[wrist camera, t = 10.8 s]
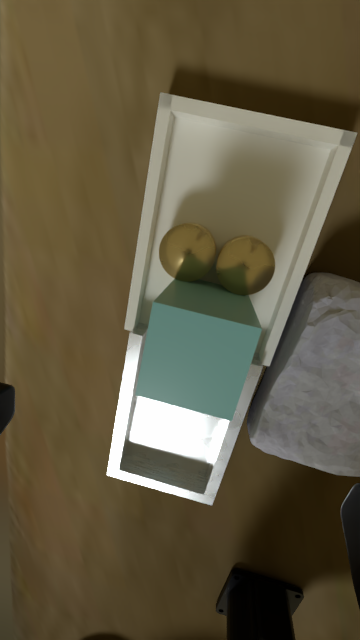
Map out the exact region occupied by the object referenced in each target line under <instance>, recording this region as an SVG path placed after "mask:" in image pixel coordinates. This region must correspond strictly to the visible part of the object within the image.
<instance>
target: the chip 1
mask: <svg viewBox="0 0 360 640" xmlns="http://www.w3.org/2000/svg"><path fill="white" fill-rule="evenodd" d="M215 255H216V242H215V239H214V237H213V235H212V234H211V232H210V231H209V230H208V229H207V228H206V227H204V226H202V225H200V224H197V223H184V224H180V225H177V226H175V227H173V228H171V229H170V230H169V231H168V232H167V233H166V234H165V235H164V237H163V238H162V240H161V243H160V246H159V258H160V262H161V265H162V267H163V268H164V270H165V271H166V272H167V273H168V274H169V275H170V276H171V277H173V278H175V279H177V280H179V281H185V282H190V281H195V280H198V279H200V278H202V277H203V276H205V275H206V274H207V273H208V272H209V270H210V269H211V267H212V266H213V263H214V260H215Z"/></svg>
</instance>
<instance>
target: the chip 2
mask: <svg viewBox="0 0 360 640" xmlns="http://www.w3.org/2000/svg"><path fill="white" fill-rule="evenodd" d="M216 271H217V276H218V279H219V281H220V283H221V284H222V285H223V287H224V288H225V289H227V290H228V291H230V292H232V293H234V294H237V295H252V294H255V293H257V292H259V291H261V290H262V289H264V288H265V287H266V286H267V285H268V284H269V282H270V281H271V279H272V277H273V275H274V271H275V259H274V256H273V253H272V251H271V250H270V248H269V247H268V246H267V245H266V244H265V243H263V242H262V241H261V240H260V239H258V238H256V237H254V236H250V235H241V236H236V237H234V238H232V239H230V240H229V241H227V242H226V243H225V244H224V245H223V247H222V248H221V250H220V252H219V255H218V259H217V265H216Z"/></svg>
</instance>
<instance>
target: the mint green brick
mask: <svg viewBox="0 0 360 640" xmlns="http://www.w3.org/2000/svg"><path fill="white" fill-rule="evenodd" d="M261 331H262V327H261V324H260V322H259V320H258V317H257V315H256V312H255V310H254V307H253V305H252V302H251V300H250V298H249V295H237V294H234V293H232V292H230V291H228V290H227V289H225V288H224V287H223V285H221V284H216V283H212V282H208V281H204V280H200V279H198V280H195V281H190V282H185V281H179V280H177V279H174V280H173V281H172V282H171V283H170V284H169V285H168V286H167V287H166V288H165V289H164V291H163V292H162V293H161V294H160V295H159V296H158V297H157V298H156V299H155V300H154V301H153V304H152V309H151V314H150V320H149V325H148V330H147V335H146V340H145V346H144V351H143V356H142V361H141V367H140V372H139V377H138V382H137V387H136V393H135V395H136V396H140V397H144V398H147V399H151V400H155V401H158V402H162V403H166V404H170V405H173V406H177V407H181V408H184V409H188V410H192V411H196V412H199V413H203V414H207V415H210V416H214V417H218V418H222V419H225V420H229V421H232V419H233V416H234V413H235V410H236V407H237V404H238V401H239V398H240V395H241V392H242V389H243V386H244V383H245V380H246V377H247V374H248V371H249V368H250V365H251V362H252V359H253V356H254V353H255V350H256V347H257V343H258V340H259V337H260V334H261Z"/></svg>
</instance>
